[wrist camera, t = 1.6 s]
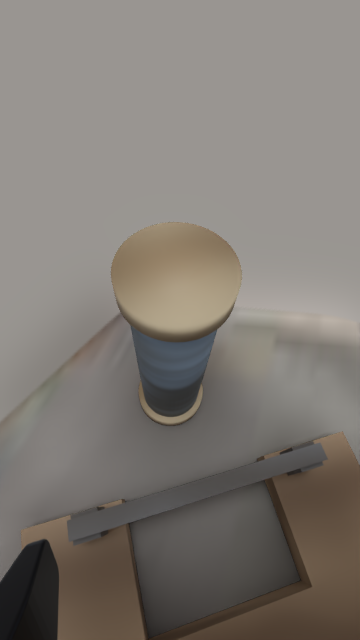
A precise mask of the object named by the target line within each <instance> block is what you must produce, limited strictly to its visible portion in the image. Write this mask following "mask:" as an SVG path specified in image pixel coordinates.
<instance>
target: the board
mask: <svg viewBox="0 0 360 640" xmlns="http://www.w3.org/2000/svg"><path fill="white" fill-rule="evenodd" d="M257 460H258V462H255V463H252V464H249V465H245V466H242V467H239V468H236V469H232V470H229V471H226V472H223V473H220V474H216V475H213V476H210V477H207V478H203V479H200V480H197V481H194V482H190V483H187V484H184V485H181V486H177V487H174V488H171V489H168V490H164V491H161V492H158V493H155V494H152V495H148V496H145V497H142V498H139V499H135V500H132V501H129V502H126V503H125V500H124V499H121V500H117V501H114V502H111V503H107V504H104V505H101V506H98V507H94V508H91V509H88V510H85V511H81V512H78V513H75V514H72V515H68V516H65V517H62V518H59V519H55V520H52V521H49V522H45V523H42V524H39V525H36V526H32V527H29V528H26V529H23V530H21V544H22V550H23V548H24V547H25V546H26V545H27V544H29V543H32V542H35V541H38V540H41V539H47V540H48V541H49V543H50V546H51V549H52V551H53V554H54V557H55V559H56V562H57V565H58V569H59V602H58V638H57V640H360V465H359V463H358V461H357V459H356V457H355V455H354V453H353V451H352V449H351V447H350V445H349V443H348V441H347V439H346V437H345V435H344V433H343V431H342V432H339V433H336V434H333V435H329V436H326V437H323V438H320V439H316V440H313V441H310V442H307V443H303V444H300V445H297V446H293V447H290V448H287V449H284V450H280V451H277V452H274V453H271V454H267V455H264V456H262V457H260V458H258V459H257ZM262 480H265V482H266V485H267V488H268V490H269V493H270V496H271V499H272V501H273V504H274V507H275V510H276V513H277V515H278V518H279V521H280V524H281V526H282V529H283V532H284V535H285V537H286V540H287V543H288V546H289V548H290V551H291V554H292V557H293V560H294V562H295V565H296V568H297V571H298V573H299V576H300V579H301V581H299V582H296V583H294V584H291V585H288V586H286V587H283V588H280V589H278V590H275V591H273V592H270V593H267V594H265V595H262V596H259V597H257V598H254V599H252V600H249V601H246V602H244V603H241V604H239V605H236V606H233V607H231V608H228V609H225V610H223V611H220V612H218V613H215V614H212V615H210V616H207V617H205V618H202V619H199V620H197V621H194V622H191V623H189V624H186V625H184V626H181V627H178V628H176V629H173V630H170V631H168V632H165V633H163V634H160V635H157V636H155V637H152V638H150V639H149V638H148V633H147V627H146V621H145V615H144V609H143V603H142V598H141V592H140V586H139V580H138V574H137V569H136V563H135V557H134V551H133V545H132V540H131V534H130V528H129V523H131V522H134V521H137V520H140V519H143V518H146V517H149V516H153V515H156V514H159V513H162V512H165V511H168V510H171V509H174V508H178V507H181V506H184V505H187V504H190V503H193V502H196V501H199V500H203V499H206V498H209V497H212V496H215V495H218V494H221V493H224V492H228V491H231V490H234V489H237V488H240V487H243V486H246V485H249V484H253V483H256V482H259V481H262Z"/></svg>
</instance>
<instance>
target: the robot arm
mask: <svg viewBox="0 0 360 640" xmlns="http://www.w3.org/2000/svg"><path fill="white" fill-rule="evenodd" d="M58 602H59V569H58V565H57V562H56V559H55V557H54V554H53V551H52V549H51V546H50V543H49V541H48V540H47V539H41V540H38V541H35V542H32V543H29V544H27V545H26V546H25V547H24V548H23V550H22V551H21V553H20V554H19V556H18V557H17V558H16V560H15V561H14V563H13V564H12V566H11V567H10V569H9V570H8V572H7V573H6V575H5V576H4V577H3V579H2V580H1V582H0V640H57V638H58Z"/></svg>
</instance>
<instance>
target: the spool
mask: <svg viewBox="0 0 360 640" xmlns="http://www.w3.org/2000/svg"><path fill="white" fill-rule="evenodd" d="M111 278H112V284H113V289H114V292H115V297H116V301H117V304H118V307H119V310H120V312H121V314H122V315H123V317H124V318H125V319H126V320H127V322H128V323H129V324H130V325H131V330H132V335H133V341H134V346H135V351H136V356H137V362H138V367H139V372H140V377H141V381H140V384H139V398H140V402H141V406H142V408H143V410H144V412H145V413H146V414H147V416H148V417H149V418H150V419H152V420H153V421H155V422H157V423H159V424H161V425H166V426H175V425H179V424H182V423H184V422H186V421H188V420H189V419H190V418H192V417H193V416H194V414H195V413H196V412H197V410H198V408H199V406H200V403H201V400H202V395H203V387H202V379H203V376H204V372H205V369H206V366H207V362H208V359H209V356H210V352H211V349H212V345H213V342H214V339H215V335H216V332H217V329H218V328H219V327H221V325H222V324H223V323H224V322H225V321H226V320H227V318H228V317H229V316H230V314H231V312H232V310H233V307H234V304H235V301H236V298H237V295H238V292H239V289H240V286H241V280H242V271H241V265H240V262H239V259H238V257H237V255H236V253H235V252H234V251H233V249H232V248H231V246H230V245H229V244H228V243H227V242H226V241H225V240H224V239H222V238H221V237H220V236H219V235H217V234H216V233H214V232H212V231H210V230H208V229H206V228H203V227H201V226H197V225H194V224H189V223H180V222H168V223H161V224H156V225H152V226H149V227H146V228H144V229H142V230H140V231H138V232H137V233H135V234H133V235H132V236H130V237H129V238H128V239H127V240H126V241H125V242H124V243H123V244H122V245H121V246H120V248H119V249H118V251H117V252H116V254H115V257H114V259H113V262H112V267H111Z"/></svg>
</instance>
